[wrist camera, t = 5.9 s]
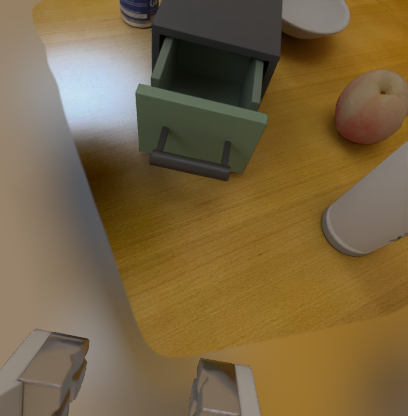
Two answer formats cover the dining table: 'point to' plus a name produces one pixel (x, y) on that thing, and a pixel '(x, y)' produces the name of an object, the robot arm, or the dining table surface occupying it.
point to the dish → (314, 18)
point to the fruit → (372, 107)
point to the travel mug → (371, 209)
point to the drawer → (201, 110)
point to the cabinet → (223, 28)
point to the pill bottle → (139, 12)
